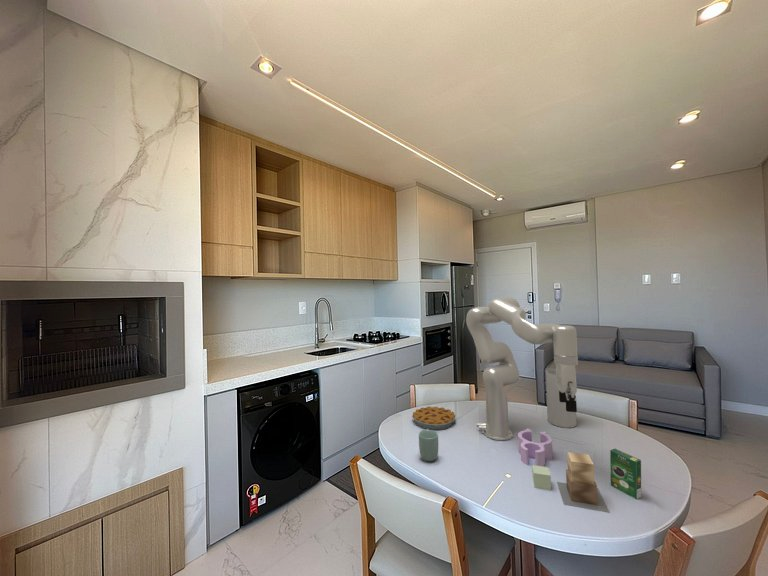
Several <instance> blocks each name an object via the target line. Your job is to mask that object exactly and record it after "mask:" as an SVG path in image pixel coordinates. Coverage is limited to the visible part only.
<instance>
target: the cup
mask: <svg viewBox="0 0 768 576" xmlns="http://www.w3.org/2000/svg"><path fill="white" fill-rule="evenodd" d="M418 447H419V449H418V450H419V455H420V457H421V459H422V460H423V461H426V462H433V461H435V460H437V458H438V454H439V433H438V432H437V430H432V429H422V430H420V431H419V433H418Z"/></svg>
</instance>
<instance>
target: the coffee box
mask: <svg viewBox="0 0 768 576" xmlns="http://www.w3.org/2000/svg"><path fill="white" fill-rule="evenodd" d="M609 455H610V460H609V461H610V465H609V466H610V486H611V487H613V489H614V488H615V489H616V490H618V491H620V492H622V493H624V494H625V495H628V496H629V497H631V498H633V499H634V500H638V499H641V497H642V460H641V459H639V458H637V457H635V456H632V455H630V454H629V453H626V452H624V451H622V450H619V449H617V448H612V449H610V452H609Z"/></svg>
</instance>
